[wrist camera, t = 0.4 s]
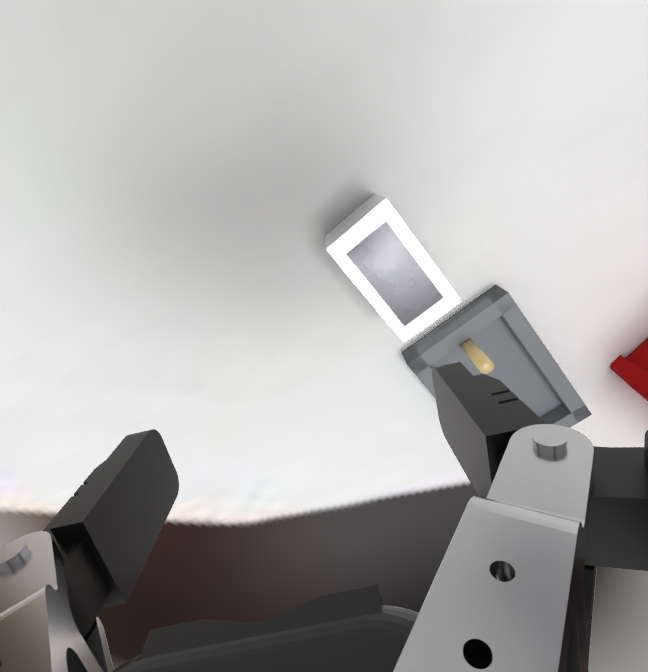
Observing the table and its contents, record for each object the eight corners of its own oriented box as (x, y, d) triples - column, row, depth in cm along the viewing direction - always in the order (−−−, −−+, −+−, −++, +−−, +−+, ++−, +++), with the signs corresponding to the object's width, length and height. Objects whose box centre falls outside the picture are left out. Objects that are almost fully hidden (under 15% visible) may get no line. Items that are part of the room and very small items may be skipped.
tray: (496, 284, 30) (533, 308, 25) (575, 400, 34) (622, 441, 29) (401, 352, 33) (417, 387, 27) (487, 454, 36) (515, 502, 31)
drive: (373, 193, 28) (386, 198, 22) (436, 278, 30) (462, 301, 25) (325, 235, 29) (325, 249, 24) (389, 314, 31) (404, 344, 26)
